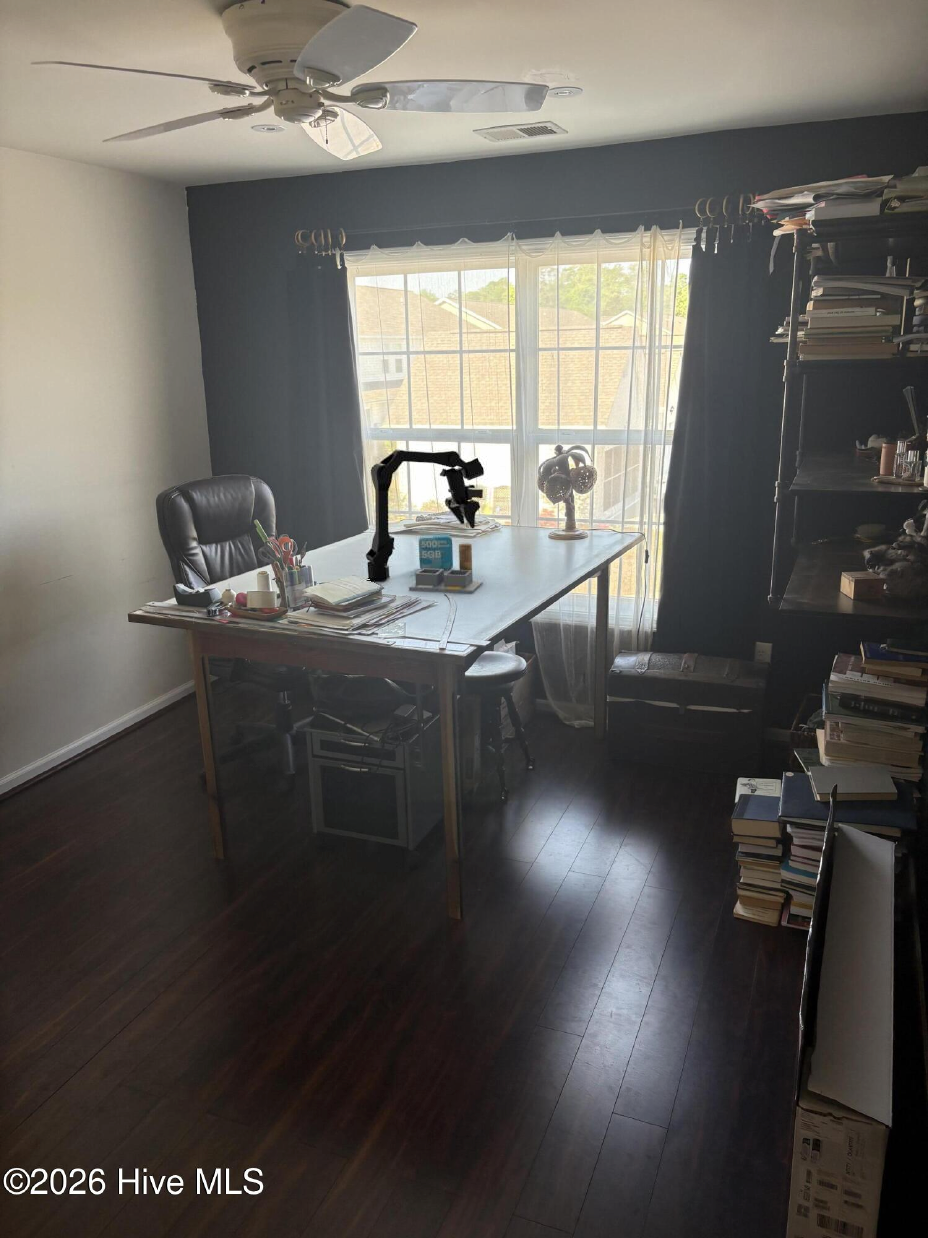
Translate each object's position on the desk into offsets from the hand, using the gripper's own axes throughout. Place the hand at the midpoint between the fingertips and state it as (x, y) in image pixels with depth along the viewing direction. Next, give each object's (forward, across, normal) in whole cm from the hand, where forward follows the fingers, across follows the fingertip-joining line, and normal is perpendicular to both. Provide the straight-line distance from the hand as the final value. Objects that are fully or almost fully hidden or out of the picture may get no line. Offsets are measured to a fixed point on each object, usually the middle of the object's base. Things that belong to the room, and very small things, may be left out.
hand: (468, 526), depth 321 cm
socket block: (+11, -22, +21) cm, 32 cm away
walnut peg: (+13, -14, +11) cm, 22 cm away
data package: (+12, +5, +14) cm, 20 cm away
